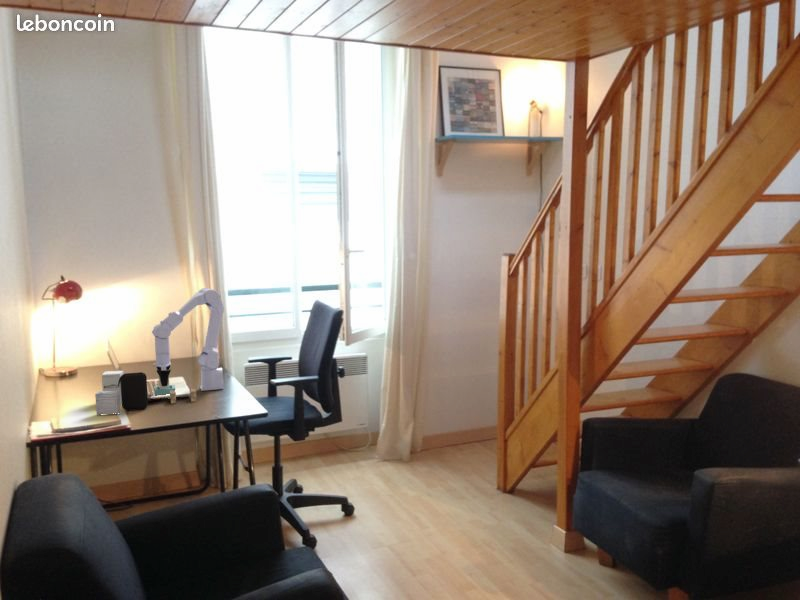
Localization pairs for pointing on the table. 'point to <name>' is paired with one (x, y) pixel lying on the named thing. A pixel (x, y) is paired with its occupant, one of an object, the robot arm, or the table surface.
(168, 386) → the plug
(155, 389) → the port
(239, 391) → the table surface
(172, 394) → the wooden pieces
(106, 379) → the supplement box
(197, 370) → the table surface
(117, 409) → the medicine box
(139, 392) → the black rounded piece
